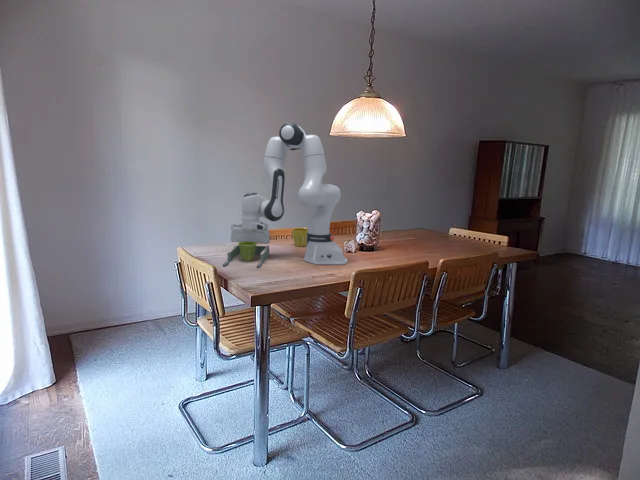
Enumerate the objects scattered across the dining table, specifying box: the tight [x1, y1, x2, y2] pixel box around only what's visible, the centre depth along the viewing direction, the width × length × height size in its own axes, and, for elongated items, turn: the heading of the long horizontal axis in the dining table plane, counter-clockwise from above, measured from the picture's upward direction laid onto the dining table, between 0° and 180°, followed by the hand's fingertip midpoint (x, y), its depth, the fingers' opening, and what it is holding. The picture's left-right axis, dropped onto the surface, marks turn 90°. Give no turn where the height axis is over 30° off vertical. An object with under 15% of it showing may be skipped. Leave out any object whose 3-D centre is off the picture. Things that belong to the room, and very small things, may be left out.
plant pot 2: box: [291, 227, 308, 247], centre depth 259 cm, size 10×10×10 cm
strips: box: [222, 260, 263, 269], centre depth 208 cm, size 18×6×1 cm, turn 88°
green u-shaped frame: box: [227, 243, 270, 265], centre depth 223 cm, size 18×20×5 cm
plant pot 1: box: [237, 242, 258, 262], centre depth 219 cm, size 9×9×9 cm
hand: (250, 251), depth 226 cm, fingers closed
